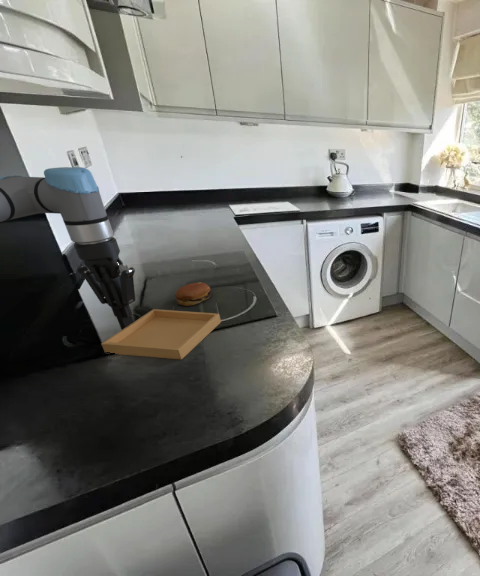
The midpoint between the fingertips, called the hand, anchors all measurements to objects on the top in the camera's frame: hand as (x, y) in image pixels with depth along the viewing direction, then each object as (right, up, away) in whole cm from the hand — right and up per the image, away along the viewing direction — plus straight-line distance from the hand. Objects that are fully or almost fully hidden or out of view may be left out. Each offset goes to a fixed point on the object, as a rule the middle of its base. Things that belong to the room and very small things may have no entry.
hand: (128, 326), depth 84 cm
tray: (+10, -2, 0) cm, 11 cm away
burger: (+7, +6, +18) cm, 21 cm away
